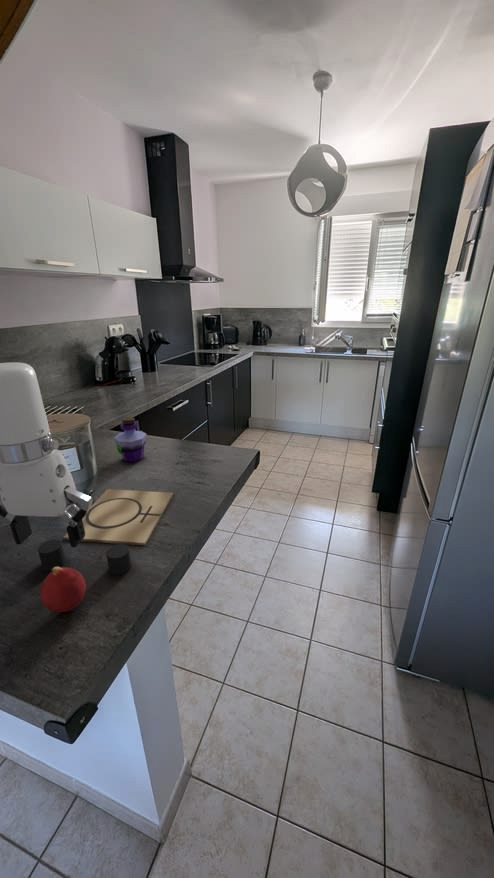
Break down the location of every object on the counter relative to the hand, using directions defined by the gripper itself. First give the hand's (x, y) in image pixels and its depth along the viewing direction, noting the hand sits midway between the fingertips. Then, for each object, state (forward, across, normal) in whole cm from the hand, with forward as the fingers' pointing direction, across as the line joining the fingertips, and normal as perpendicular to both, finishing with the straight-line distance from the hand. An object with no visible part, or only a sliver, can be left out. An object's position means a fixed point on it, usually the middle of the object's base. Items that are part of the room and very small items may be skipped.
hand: (51, 540), depth 60 cm
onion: (+5, -7, +9) cm, 13 cm away
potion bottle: (+5, +4, -42) cm, 43 cm away
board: (+5, -5, -15) cm, 17 cm away
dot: (+5, +1, 0) cm, 5 cm away
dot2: (+5, -11, 0) cm, 12 cm away
